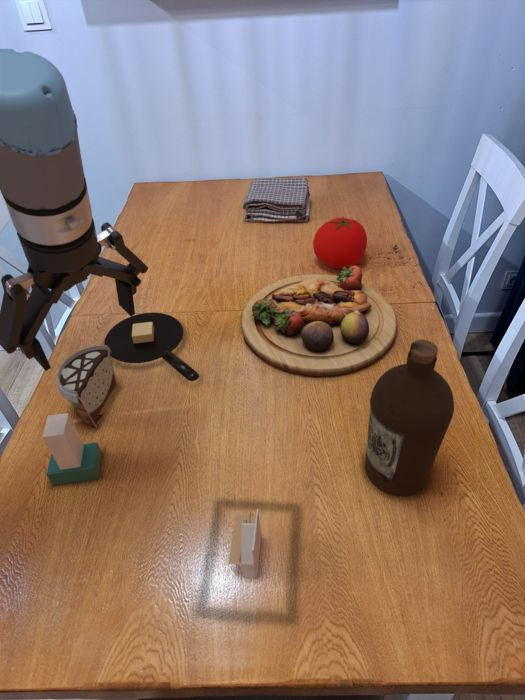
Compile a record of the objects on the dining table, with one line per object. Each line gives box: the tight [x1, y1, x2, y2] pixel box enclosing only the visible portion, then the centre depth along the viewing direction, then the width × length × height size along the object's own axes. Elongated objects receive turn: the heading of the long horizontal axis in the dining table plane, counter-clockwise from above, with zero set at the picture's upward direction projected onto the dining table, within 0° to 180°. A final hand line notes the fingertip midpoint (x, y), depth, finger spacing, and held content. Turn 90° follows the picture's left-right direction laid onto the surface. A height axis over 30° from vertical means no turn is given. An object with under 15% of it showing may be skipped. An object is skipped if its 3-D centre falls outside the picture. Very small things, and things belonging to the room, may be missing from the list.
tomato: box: [312, 216, 368, 270], centre depth 116 cm, size 12×13×11 cm
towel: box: [242, 177, 311, 223], centre depth 139 cm, size 15×18×8 cm
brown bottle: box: [364, 339, 455, 497], centre depth 67 cm, size 11×11×25 cm
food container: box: [56, 344, 118, 429], centre depth 84 cm, size 12×6×10 cm, turn 168°
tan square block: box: [132, 322, 154, 344], centre depth 99 cm, size 4×4×2 cm
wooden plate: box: [240, 265, 398, 377], centre depth 100 cm, size 32×32×8 cm
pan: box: [103, 312, 200, 382], centre depth 97 cm, size 26×16×2 cm, turn 43°
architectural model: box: [228, 508, 262, 579], centre depth 64 cm, size 3×7×7 cm, turn 175°
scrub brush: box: [42, 412, 103, 486], centre depth 74 cm, size 5×7×11 cm
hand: (86, 334), depth 68 cm, fingers open, 13 cm apart
